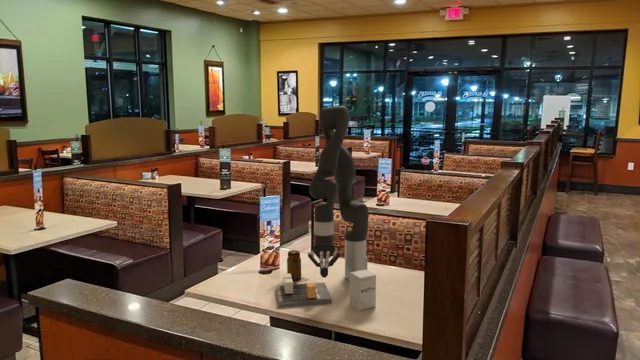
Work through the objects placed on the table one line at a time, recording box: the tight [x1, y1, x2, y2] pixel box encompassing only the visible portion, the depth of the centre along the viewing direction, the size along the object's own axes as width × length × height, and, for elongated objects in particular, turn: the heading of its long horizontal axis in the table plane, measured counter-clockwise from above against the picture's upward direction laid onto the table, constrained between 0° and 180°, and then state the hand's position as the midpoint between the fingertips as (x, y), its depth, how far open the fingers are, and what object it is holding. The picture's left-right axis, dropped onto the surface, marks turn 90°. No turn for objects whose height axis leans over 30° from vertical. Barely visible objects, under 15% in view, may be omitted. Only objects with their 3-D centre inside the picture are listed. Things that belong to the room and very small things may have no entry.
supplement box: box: [349, 269, 377, 311], centre depth 180 cm, size 7×7×13 cm
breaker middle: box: [284, 279, 294, 294], centre depth 189 cm, size 3×4×4 cm
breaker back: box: [282, 273, 292, 288], centre depth 195 cm, size 3×4×4 cm
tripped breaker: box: [306, 282, 316, 298], centre depth 184 cm, size 3×4×4 cm
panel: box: [275, 282, 333, 308], centre depth 190 cm, size 20×17×2 cm
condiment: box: [286, 250, 308, 284], centre depth 209 cm, size 7×8×12 cm
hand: (324, 276), depth 184 cm, fingers closed
